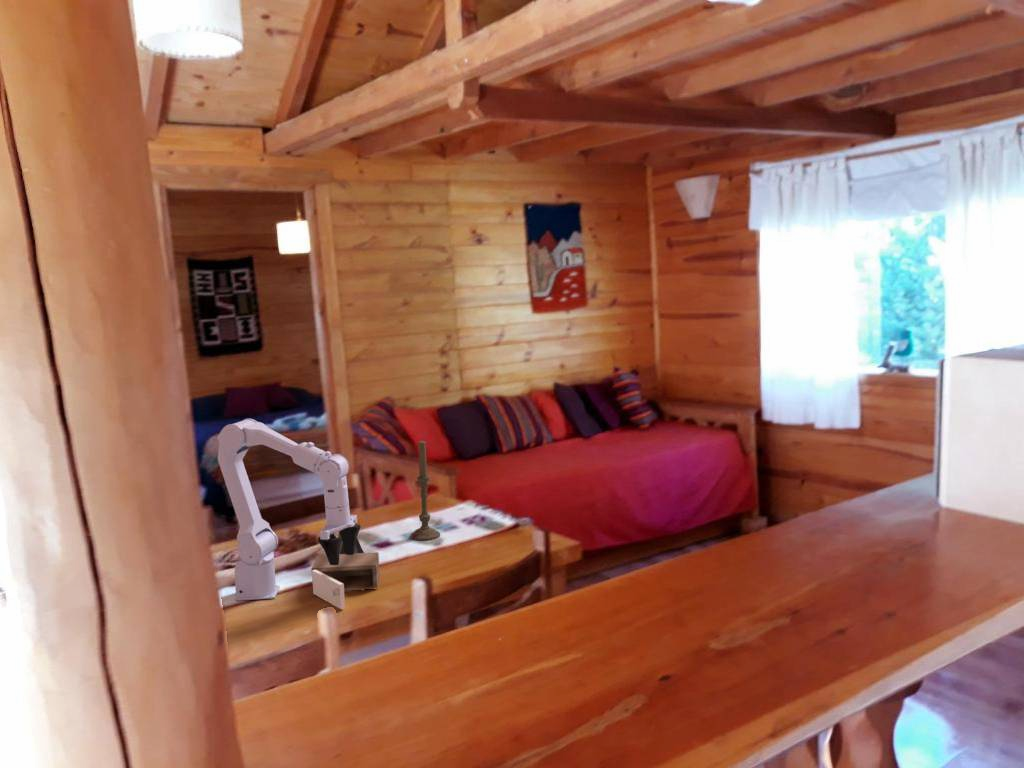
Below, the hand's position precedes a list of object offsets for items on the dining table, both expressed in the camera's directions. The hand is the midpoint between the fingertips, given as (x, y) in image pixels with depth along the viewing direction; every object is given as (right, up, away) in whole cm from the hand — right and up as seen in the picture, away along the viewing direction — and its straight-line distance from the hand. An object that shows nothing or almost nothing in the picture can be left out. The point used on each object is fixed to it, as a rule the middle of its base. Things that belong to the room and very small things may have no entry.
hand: (342, 559), depth 206 cm
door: (-3, -10, -1) cm, 11 cm away
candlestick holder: (+15, -4, +51) cm, 53 cm away
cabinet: (-1, -9, +11) cm, 14 cm away
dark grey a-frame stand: (-4, -7, +27) cm, 28 cm away
